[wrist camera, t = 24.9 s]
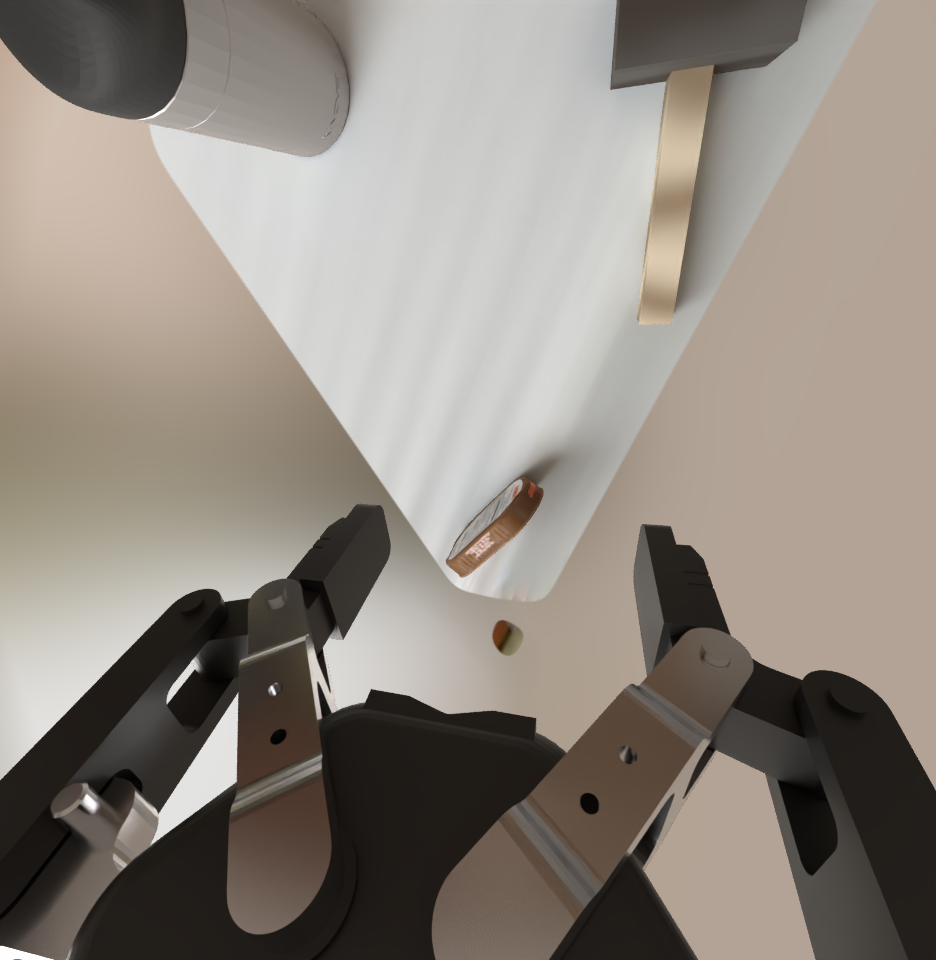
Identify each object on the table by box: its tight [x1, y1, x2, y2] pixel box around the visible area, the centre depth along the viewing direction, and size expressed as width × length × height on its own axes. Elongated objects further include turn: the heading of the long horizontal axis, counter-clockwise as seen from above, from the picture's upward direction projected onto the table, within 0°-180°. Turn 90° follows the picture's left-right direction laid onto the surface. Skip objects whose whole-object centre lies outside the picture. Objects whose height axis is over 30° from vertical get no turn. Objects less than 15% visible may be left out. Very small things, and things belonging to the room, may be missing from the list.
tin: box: [446, 477, 543, 577], centre depth 49 cm, size 15×3×8 cm, turn 143°
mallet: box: [610, 0, 807, 325], centre depth 31 cm, size 21×10×5 cm, turn 4°
